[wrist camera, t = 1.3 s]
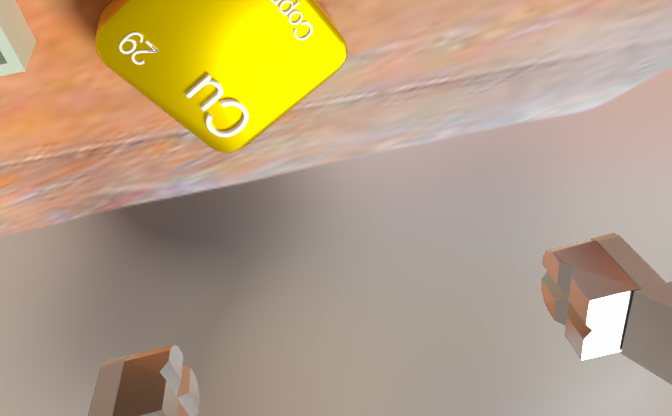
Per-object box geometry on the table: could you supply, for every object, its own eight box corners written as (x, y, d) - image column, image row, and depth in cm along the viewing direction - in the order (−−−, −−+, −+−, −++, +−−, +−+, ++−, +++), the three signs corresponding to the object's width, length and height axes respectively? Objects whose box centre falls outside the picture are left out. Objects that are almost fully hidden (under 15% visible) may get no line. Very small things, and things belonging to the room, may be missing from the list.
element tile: (344, 35, 47) (359, 59, 44) (223, 136, 51) (228, 165, 47) (226, -116, 37) (234, -100, 34) (86, 24, 41) (80, 50, 37)
